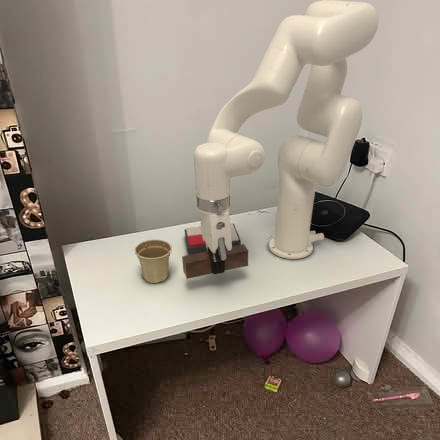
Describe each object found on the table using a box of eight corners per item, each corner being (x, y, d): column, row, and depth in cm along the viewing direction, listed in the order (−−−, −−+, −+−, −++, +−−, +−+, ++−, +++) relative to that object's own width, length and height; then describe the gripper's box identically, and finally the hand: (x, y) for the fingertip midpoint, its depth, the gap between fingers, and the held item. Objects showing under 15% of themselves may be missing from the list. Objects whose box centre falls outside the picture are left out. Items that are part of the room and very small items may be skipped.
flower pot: (172, 265, 120) (170, 237, 114) (175, 285, 112) (173, 256, 107) (137, 268, 118) (134, 240, 113) (138, 289, 111) (134, 260, 106)
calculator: (184, 226, 130) (233, 220, 131) (185, 239, 132) (234, 233, 133) (187, 245, 121) (240, 238, 122) (189, 258, 123) (241, 251, 125)
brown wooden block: (243, 259, 112) (243, 243, 109) (248, 265, 110) (248, 250, 107) (183, 271, 108) (181, 256, 106) (186, 279, 106) (185, 263, 103)
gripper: (242, 214, 92) (241, 284, 104) (217, 184, 105) (219, 249, 116) (208, 220, 91) (211, 290, 102) (187, 189, 103) (192, 254, 114)
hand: (216, 268), depth 109 cm, fingers closed on brown wooden block, 3 cm apart
